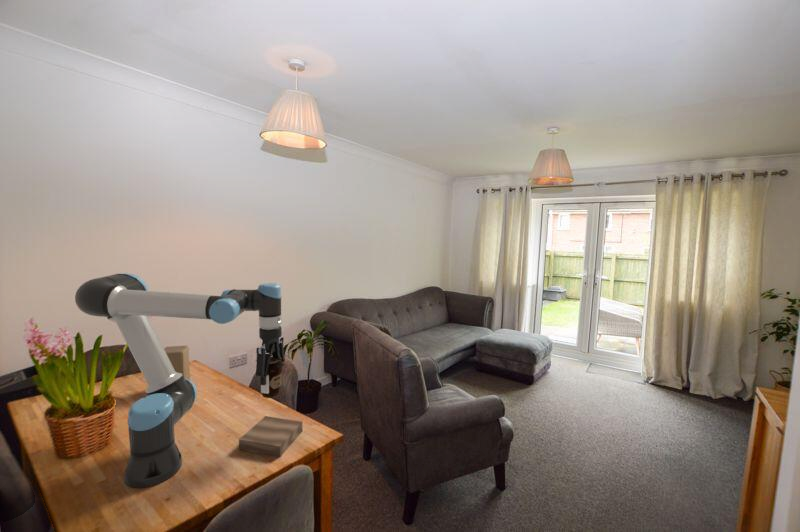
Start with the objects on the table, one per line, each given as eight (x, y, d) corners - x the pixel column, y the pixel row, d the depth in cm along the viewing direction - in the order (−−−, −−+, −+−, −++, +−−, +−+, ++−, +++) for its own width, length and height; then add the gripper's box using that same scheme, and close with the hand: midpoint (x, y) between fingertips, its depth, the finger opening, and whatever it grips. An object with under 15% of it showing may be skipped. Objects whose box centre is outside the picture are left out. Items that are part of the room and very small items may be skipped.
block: (167, 385, 173) (165, 346, 171) (190, 383, 176) (188, 344, 174) (160, 395, 163) (158, 353, 161) (184, 392, 166) (183, 351, 164)
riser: (280, 457, 122) (280, 446, 121) (239, 449, 125) (238, 439, 125) (302, 431, 137) (302, 421, 137) (265, 425, 141) (265, 416, 140)
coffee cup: (287, 390, 133) (287, 356, 132) (278, 400, 125) (277, 365, 123) (265, 388, 134) (265, 355, 132) (254, 398, 126) (253, 363, 124)
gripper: (263, 335, 116) (264, 402, 118) (294, 320, 136) (294, 377, 138) (242, 333, 117) (244, 399, 120) (276, 318, 137) (277, 375, 140)
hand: (271, 387), depth 129 cm, fingers closed on coffee cup, 7 cm apart
